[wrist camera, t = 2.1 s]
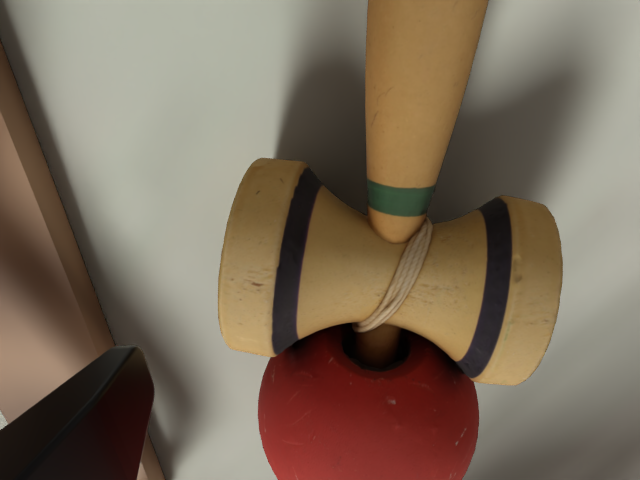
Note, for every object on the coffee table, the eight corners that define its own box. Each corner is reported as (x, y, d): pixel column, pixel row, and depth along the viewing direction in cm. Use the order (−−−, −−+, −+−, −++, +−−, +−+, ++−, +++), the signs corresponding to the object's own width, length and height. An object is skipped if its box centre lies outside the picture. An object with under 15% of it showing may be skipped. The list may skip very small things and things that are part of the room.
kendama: (217, -258, 10) (219, 427, 16) (212, -673, 4) (218, 630, 11) (542, -192, 12) (431, 410, 18) (856, -434, 6) (532, 580, 12)
